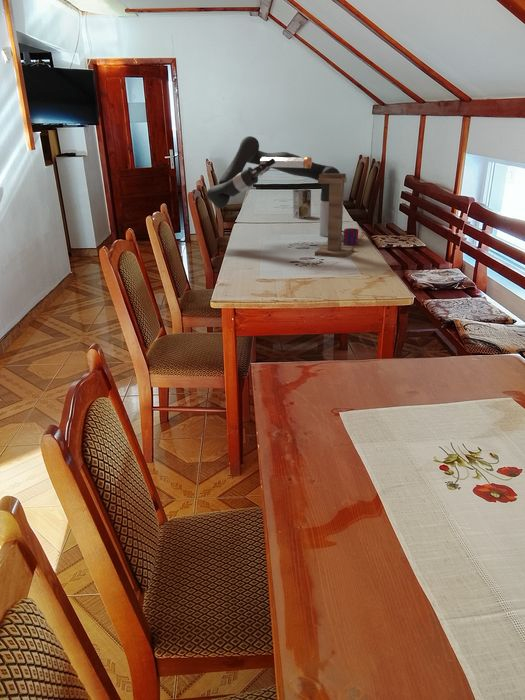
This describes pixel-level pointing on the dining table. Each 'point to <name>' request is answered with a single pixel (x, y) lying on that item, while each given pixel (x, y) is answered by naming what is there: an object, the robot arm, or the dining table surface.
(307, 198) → the coffee box
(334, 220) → the stand
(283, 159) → the rod
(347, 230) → the mug
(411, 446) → the dining table surface
